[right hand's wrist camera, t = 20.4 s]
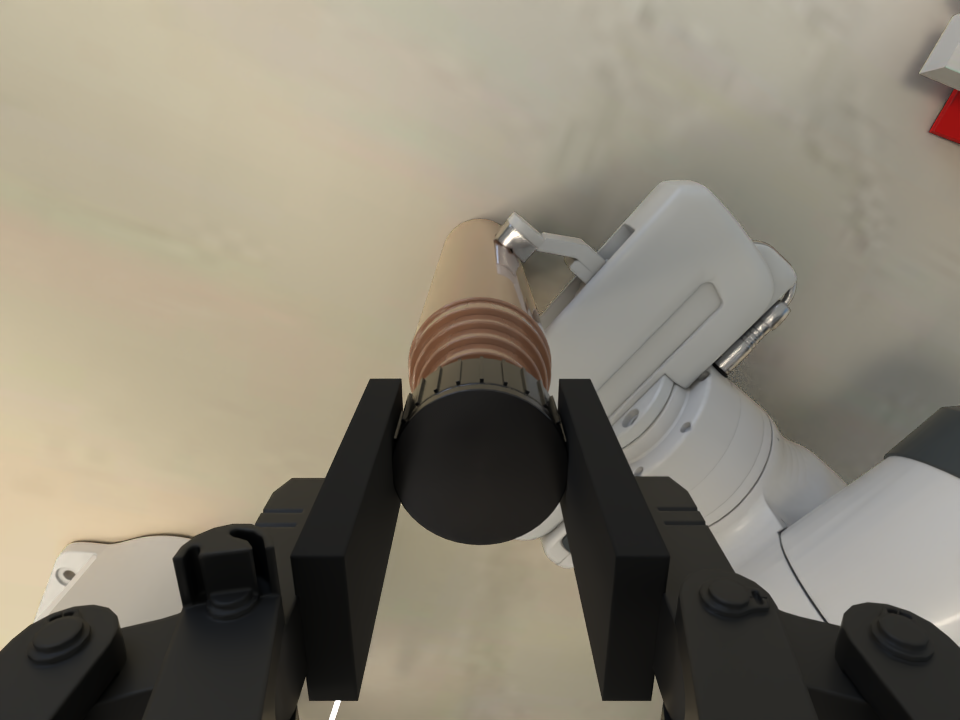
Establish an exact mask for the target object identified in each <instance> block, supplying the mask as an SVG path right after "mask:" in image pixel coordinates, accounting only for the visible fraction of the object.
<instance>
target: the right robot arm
mask: <svg viewBox="0 0 960 720" xmlns="http://www.w3.org/2000/svg"><path fill="white" fill-rule="evenodd" d="M401 411H403V401H402V381H401V379H370V380H369V382H368V384H367V387H366V389H365V391H364V393H363V396H362V398H361V400H360V402H359V404H358V407H357V409H356V411H355V413H354V415H353V418H352V420H351V422H350V424H349V427H348V429H347V431H346V433H345V435H344V438H343V440H342V442H341V444H340V447H339V449H338V451H337V453H336V455H335V458H334V460H333V462H332V464H331V467H330V469H329V471H328V473H327V475H326V478H292V479H290V480H289V481H288V482H286V483H285V484H284V485H282V486H281V487H280V488H279V489H277V490H276V491H275V492H273V494H272V495H271V497H270V499H269V501H268V502H267V504H266V506H265V508H264V509H263V513H261V514H260V516H259V518H258V520H257V521H256V523H255V525H252V524H230V525H226V526H221V527H216V528H213V529H210V530H208V531H206V532H203V533H201V534H199V535H196V536H195V537H193V538H192V539H191V540H189V541H188V542H187V543H185V544H184V545H182V546H181V547H180V549H179V550H178V551H177V553H176V554H175V555H174V557H173V558H172V560H173V564H174V569H175V574H176V578H177V583H178V588H179V592H180V597H181V601H182V606H183V608H182V611H181V612H180V613H178V614H175V615H172V616H169V617H165V618H162V619H158V620H154V621H149V622H145V623H141V624H136V625H132V626H128V627H124V628H121V627H120V624H119V620H118V616H117V615H116V614H115V613H114V612H113V611H112V610H111V609H110V608H108V607H103V606H98V605H94V604H93V605H83V606H74V607H71V608H67V609H64V610H61V611H58V612H55V613H52V614H50V615H48V616H46V617H44V618H42V619H40V620H39V621H37V622H35V623H33V624H31V625H30V626H28V627H27V628H26V629H25V630H23V631H22V632H21V633H20V634H18V635H17V636H16V637H15V638H13V639H12V640H11V641H10V642H9V643H8V644H7V645H6V646H5V647H4V648H3V649H2V650H1V651H0V720H299V715H298V708H297V702H298V699H299V696H300V693H301V690H302V687H303V684H304V681H305V677H306V680H307V688H308V695H309V701H358V698H359V694H360V689H361V684H362V680H363V675H364V670H365V666H366V661H367V656H368V652H369V647H370V643H371V638H372V633H373V629H374V624H375V619H376V615H377V610H378V605H379V601H380V596H381V592H382V587H383V582H384V578H385V573H386V568H387V564H388V559H389V554H390V550H391V545H392V540H393V536H394V531H395V527H396V522H397V517H398V513H399V508H400V503H401V501H400V500H399V498H398V495H397V493H396V491H395V488H394V484H393V470H392V453H393V448H394V445H395V442H394V436H395V432H396V429H397V425H398V422H399V418H400V415H401ZM558 414H559V416H560V420H561V423H562V427H563V431H564V434H565V438H566V446H567V450H568V456H569V459H568V477H567V486H566V490H565V492H564V495H563V497H562V499H561V501H560V506H561V511H562V515H563V520H564V525H565V529H566V534H567V539H568V543H569V548H570V553H571V557H572V562H573V566H574V571H575V576H576V580H577V585H578V590H579V594H580V599H581V604H582V608H583V613H584V617H585V622H586V627H587V631H588V636H589V641H590V645H591V650H592V655H593V659H594V664H595V668H596V673H597V678H598V682H599V687H600V692H601V696H602V701H651V698H652V691H653V683H654V676H656V679H657V683H658V686H659V689H660V692H661V695H662V698H663V708H662V715H661V720H960V647H959V646H958V645H957V644H956V643H955V642H954V641H953V640H952V639H951V638H950V637H949V636H948V635H946V634H945V633H944V632H943V631H941V630H940V629H939V628H937V627H936V626H935V625H934V624H932V623H931V622H929V621H927V620H926V619H924V618H922V617H920V616H918V615H916V614H914V613H912V612H910V611H908V610H905V609H901V608H898V607H895V606H892V605H889V604H882V603H872V602H865V603H861V604H856V605H852V606H851V607H850V608H849V609H848V610H847V611H846V612H845V613H844V614H843V618H842V622H841V625H840V626H839V625H835V624H830V623H826V622H822V621H817V620H813V619H809V618H804V617H800V616H797V615H793V614H790V613H787V612H784V611H781V610H779V609H778V607H777V605H776V604H775V602H774V600H773V599H772V597H771V596H770V594H769V593H768V592H767V591H766V590H764V589H763V588H762V587H761V586H759V585H758V584H757V583H756V582H754V581H752V580H750V579H748V578H746V577H744V576H742V575H740V574H738V573H735V571H734V570H733V568H732V566H731V564H730V563H729V561H728V559H727V558H726V556H725V554H724V552H723V551H722V549H721V547H720V546H719V544H718V542H717V540H716V539H715V537H714V535H713V534H712V532H711V530H710V528H709V527H708V525H706V522H705V520H704V518H703V516H702V515H701V513H700V511H698V510H697V506H696V504H695V503H694V501H693V499H692V498H691V496H690V494H689V492H688V491H687V490H686V489H685V488H683V487H682V486H681V485H679V484H678V483H677V482H675V481H674V480H673V479H672V478H670V477H669V476H634V474H633V472H632V470H631V468H630V466H629V463H628V461H627V459H626V457H625V454H624V452H623V450H622V448H621V446H620V443H619V441H618V439H617V437H616V434H615V432H614V430H613V428H612V426H611V423H610V421H609V419H608V417H607V415H606V412H605V410H604V408H603V406H602V403H601V401H600V399H599V397H598V395H597V392H596V390H595V388H594V386H593V383H592V381H591V379H559V389H558Z"/></svg>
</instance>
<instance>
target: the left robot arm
mask: <svg viewBox="0 0 960 720" xmlns="http://www.w3.org/2000/svg"><path fill="white" fill-rule="evenodd" d="M495 236H496V237H495V238H496V239H497V240H498V241H499V242H500V243H501V244H502V245H503V246H505V247H506V248H510V249H512V251H513V254H514V255H515V256H516V257H517V258H518V259H520V260H521V261H522V262H523V263H524V262H525V261H526V260H527V259H528V258H529V257H530V256H531V255H532V254H533V252H534V251H535V250H536V251H539V252H544V253H550V254H555V255H561V256H566V257H565V258H564V262H565V263H566V265H567V266H568V268H569V269H570V270H571V271H572V272H573V273H574V274H575V275H576V276H575V277H574V278H573V279H572V280H571V281H570V282H569V284H568V285H567V286H566V287H565V288H564V289H563V290H562V291H561V292H560V294H559V295H558V296H557V297H556V298H555V299H554V300H553V301H552V302H551V304H550V305H549V306H548V307H547V308H546V309H545V310H544V311H543V312H542V314H541V315H540V316H539V317H540V320H541V323H542V326H543V329H544V332H545V335H546V338H547V341H548V344H549V348H550V352H551V361H552V368H551V384H550V388H549V392H548V393H549V395H550V396H552V395H553V397H554V400H555V403H556V407H557V410H558V389H559V379H591V381H592V383H593V386H594V388H595V390H596V392H597V395H598V397H599V399H600V401H601V403H602V406H603V408H604V410H605V412H606V415H607V417H608V419H609V421H610V423H611V426H612V428H613V430H614V432H615V434H616V437H617V439H618V441H619V443H620V446H621V448H622V450H623V452H624V454H625V457H626V459H627V461H628V463H629V466H630V468H631V470H632V472H633V474H634V476H669V477H670V478H672V479H673V480H674V481H675V482H677V483H678V484H679V485H681V486H682V487H683V488H685V489H686V490H687V491H688V492H689V494H690V496H691V498H692V499H693V501H694V503H695V504H696V506H697V510H698V511H700V513H701V515H702V516H703V518H704V520H705V522H706V525H708V527H709V528H710V530H711V532H712V534H713V535H714V537H715V539H716V540H717V542H718V544H719V546H720V547H721V549H722V551H723V552H724V554H725V556H726V558H727V559H728V561H729V563H730V564H731V566H732V568H733V570H734V571H735V573H738V574H740V575H742V576H744V577H746V578H748V579H750V580H752V581H754V582H756V583H757V584H758V585H759V586H761V587H762V588H763V589H764V590H766V591H767V592H768V593H769V594H770V596H771V597H772V599H773V600H774V602H775V604H776V605H777V607H778V609H779V610H781V611H784V612H787V613H790V614H793V615H797V616H800V617H804V618H809V619H813V620H817V621H822V622H826V623H830V624H835V625H839V626H840V625H841V622H842V618H843V614H844V613H845V612H846V611H847V610H848V609H849V608H850V607H851V606H852V605H856V604H861V603H865V602H872V603H882V604H889V605H892V606H895V607H898V608H901V609H905V610H908V611H910V612H912V613H914V614H916V615H918V616H920V617H922V618H924V619H926V620H927V621H929V622H931V623H932V624H934V625H935V626H936V627H937V628H939V629H940V630H941V631H943V632H944V633H945V634H946V635H948V636H949V637H950V638H951V639H952V640H953V641H954V642H955V643H956V644H957V645H958V646H959V647H960V406H952V407H942V408H940V409H939V410H938V411H937V412H935V413H934V414H933V415H932V416H931V417H929V418H928V419H927V420H926V421H925V422H924V423H922V424H921V425H920V426H919V427H918V428H916V429H915V430H914V431H913V432H912V433H910V434H909V435H908V436H907V437H906V438H905V439H903V440H902V441H901V442H900V443H899V444H897V445H896V446H895V447H894V448H893V449H891V450H890V451H889V452H888V453H887V454H886V455H885V456H884V460H883V461H882V462H880V463H879V464H877V465H876V466H875V467H873V468H872V469H870V470H869V471H867V472H866V473H865V474H863V475H862V476H860V477H859V478H858V479H856V480H855V481H853V482H852V483H850V484H849V485H847V484H846V483H845V482H844V481H843V480H842V479H841V478H840V477H839V476H838V475H837V474H836V473H835V472H834V471H833V470H832V469H831V468H830V467H829V466H828V465H826V464H825V463H824V462H823V461H822V460H821V459H820V458H819V457H817V456H816V455H815V454H814V453H813V452H811V451H810V450H808V449H807V448H805V447H803V446H801V445H799V444H797V443H794V442H792V441H789V440H787V439H786V438H784V437H783V436H782V435H781V433H780V432H779V430H778V428H777V426H776V424H775V423H774V421H773V420H772V418H771V417H770V416H769V415H768V414H767V412H766V411H765V410H764V409H762V408H761V407H760V406H759V405H758V404H757V403H756V402H754V401H753V400H752V399H751V398H750V397H749V396H748V395H747V394H745V393H744V392H743V391H742V390H741V389H740V388H739V387H737V386H736V385H735V384H734V383H733V382H732V381H730V380H729V379H728V378H727V375H728V374H729V373H730V372H731V371H732V370H733V369H734V368H735V367H736V366H737V365H738V364H739V363H740V362H741V361H742V360H743V359H745V358H746V357H747V356H748V354H749V353H750V352H751V351H752V349H754V348H755V346H756V344H758V343H759V342H760V340H761V339H762V338H763V337H764V336H765V335H767V334H768V333H769V332H770V331H771V330H772V331H773V330H774V329H776V328H777V327H778V326H779V325H780V324H781V323H782V322H783V321H784V320H785V319H786V317H787V316H788V315H789V313H790V312H791V310H790V308H789V307H788V305H789V304H790V302H791V301H792V299H793V297H794V294H795V291H796V285H797V276H796V273H795V271H794V269H793V267H792V266H791V264H790V263H789V262H788V261H787V260H786V259H785V258H784V257H783V256H782V255H781V254H779V253H778V252H777V251H776V250H775V249H774V248H773V247H772V246H771V245H769V244H767V243H765V242H762V241H757V240H751V238H750V237H749V236H748V234H747V233H746V231H745V230H744V229H743V227H742V226H741V225H740V224H739V222H738V221H737V220H736V218H735V217H734V216H733V215H732V214H731V212H730V211H729V210H728V209H727V208H726V207H725V206H724V204H723V203H722V202H721V201H720V200H719V199H718V198H717V197H716V196H715V195H714V194H713V193H712V192H711V191H710V190H709V189H708V188H707V187H705V186H704V185H702V184H700V183H698V182H695V181H691V180H667V181H662V182H661V183H659V184H658V185H657V186H656V187H655V188H654V189H653V190H652V191H651V192H650V193H649V195H648V196H647V197H646V198H645V199H644V200H643V201H642V202H641V203H640V205H639V206H638V207H637V208H636V209H635V210H634V211H633V212H632V213H631V215H630V216H629V217H628V218H627V219H626V220H625V221H624V222H623V224H622V225H621V226H620V227H619V228H618V229H617V230H616V231H615V232H614V234H613V235H612V236H611V237H610V238H609V239H608V240H607V241H606V242H605V244H604V245H603V246H602V247H601V248H600V249H599V250H598V251H597V252H596V251H595V250H593V249H592V248H591V247H590V246H589V245H588V244H587V243H585V242H584V241H583V240H582V239H581V238H575V237H569V236H563V235H557V234H551V233H545V232H543V233H542V234H541V233H539V232H538V231H537V230H536V229H535V228H534V227H533V226H531V225H530V224H529V223H528V222H527V221H526V220H524V219H523V218H522V217H521V216H520V215H518V214H517V213H516V212H513V213H512V214H511V216H510V217H509V218H508V219H507V220H506V222H505V223H504V224H503V225H502V227H501V228H500V229H499V230H498V232H497V233H496V234H495ZM784 294H785V295H784ZM783 295H784V297H783V299H782V300H779V299H780V298H781V297H782V296H783ZM537 538H540V540H541V543H542V546H543V549H544V552H545V554H546V556H547V557H548V558H549V559H550V560H551V561H552V562H554V563H555V564H556V565H558V566H560V567H562V568H567V569H569V568H574V566H573V562H572V557H571V553H570V548H569V543H568V539H567V534H566V529H565V525H564V520H563V515H562V511H561V506H560V503H559V504H558V506H557V507H556V509H555V510H554V511H553V512H552V514H551V515H550V516H549V517H548V518H547V519H546V520H545V521H544V522H543V523H542V524H540V525H539V526H538V527H536V528H535V529H533V530H532V531H530V532H528V533H527V534H525V535H523V536H521V537H518V538H516V539H515V540H522V541H527V540H534V539H537ZM189 540H191V539H189V538H184V537H177V536H147V537H141V538H136V539H132V540H128V541H124V542H121V543H115V544H102V543H92V542H74V543H70V544H68V545H67V546H66V547H65V548H64V549H63V550H62V552H61V553H60V554H59V555H58V557H57V559H56V561H55V564H54V567H53V569H52V572H51V575H50V578H49V580H48V583H47V586H46V589H45V591H44V594H43V597H42V600H41V602H40V605H39V608H38V611H37V613H36V616H35V619H34V622H33V623H35V622H37V621H39V620H40V619H42V618H44V617H46V616H48V615H50V614H52V613H55V612H58V611H61V610H64V609H67V608H71V607H74V606H83V605H93V604H94V605H98V606H103V607H108V608H110V609H111V610H112V611H113V612H114V613H115V614H116V615H117V616H118V620H119V624H120V627H121V628H124V627H128V626H132V625H136V624H141V623H145V622H149V621H154V620H158V619H162V618H165V617H169V616H172V615H175V614H178V613H180V612H181V611H182V608H183V606H182V601H181V597H180V592H179V588H178V583H177V578H176V574H175V569H174V564H173V560H172V558H173V557H174V555H175V554H176V553H177V551H178V550H179V549H180V547H181V546H182V545H184V544H185V543H187V542H188V541H189ZM339 704H340V701H335V704H334V707H333V710H332V713H331V716H330V719H329V720H334V719H335V716H336V713H337V710H338V707H339Z"/></svg>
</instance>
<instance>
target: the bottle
mask: <svg viewBox="0 0 960 720" xmlns="http://www.w3.org/2000/svg"><path fill="white" fill-rule="evenodd" d="M501 227H502V226H501V225H500V224H498V223H496V222H494V221H491V220H487V219H473V220H468V221H466V222H463V223H461V224H460V225H458V226H457V227H455V228H454V229H453V230H452V231H451V233H450V234H449V235H448V237H447V238H446V240H445V243H444V246H443V249H442V252H441V255H440V258H439V261H438V264H437V267H436V270H435V273H434V276H433V280H432V283H431V286H430V289H429V292H428V295H427V298H426V301H425V304H424V307H423V310H422V314H421V317H420V320H419V323H418V326H417V329H416V332H415V335H414V338H413V341H412V345H411V348H410V352H409V361H408V368H409V383H410V388H411V392H412V393H413V391H414V390H415V389H416V387H417V386H418V385H419V384H420V380H421V379H422V378H424V379H425V378H426V377H427V376H429V375H430V374H431V373H433V372H434V371H436V370H437V367H439V366H441V367H443V366H446V365H448V364H450V363H453V362H456V361H458V359H460V358H461V359H462V360H466V359H473V358H480V356H483V357H484V358H488V359H495V360H500V361H502V359H504V360H505V361H506V362H508V363H511V364H513V365H515V366H517V367H519V368H522V367H524V368H525V369H526V372H528V373H529V374H531V375H532V376H533V377H534V378H536V379H537V380H539V379H540V380H541V381H542V384H543V387H544V388H545V389H546V390H547V392H549V388H550V384H551V368H552V361H551V352H550V348H549V344H548V341H547V338H546V335H545V332H544V329H543V326H542V323H541V320H540V317H539V314H538V311H537V308H536V305H535V302H534V299H533V296H532V293H531V290H530V287H529V284H528V281H527V278H526V275H525V272H524V269H523V266H522V263H521V260H520V259H518V258H517V257H516V256H515V255H514V254H513V251H512V249H510V248H506V247H505V246H503V245H502V244H501V243H500V242H499V241H498V240H497V239H496V238H495V237H496V236H495V234H496V233H497V232H498V230H499V229H500V228H501Z"/></svg>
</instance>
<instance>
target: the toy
mask: <svg viewBox="0 0 960 720" xmlns="http://www.w3.org/2000/svg"><path fill="white" fill-rule="evenodd" d="M919 74H920V75H923V76H925V77H928V78H930V79H932V80H935V81H937V82H940V83H942V84H944V85H947V86H949V87H951V88H954V90H953V92H952V93H951V95H950V97H949V99H948V100H947V102H946V104H945V105H944V107H943V109H942V111H941V112H940V114H939V116H938V117H937V119H936V121H935V122H934V124H933V126H932V128H931V129H930V131H929V132H930V133H933V134H935V135H938V136H941V137H943V138H946V139H948V140H951V141H954V142H956V143H959V144H960V13H959V14H957V15H954V16H952V18H951V20H950V21H949V23H948V25H947V26H946V28H945V30H944V32H943V33H942V35H941V37H940V38H939V40H938V42H937V43H936V45H935V47H934V49H933V50H932V52H931V54H930V55H929V57H928V59H927V60H926V62H925V64H924V66H923V67H922V69H921V71H920V72H919Z"/></svg>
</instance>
